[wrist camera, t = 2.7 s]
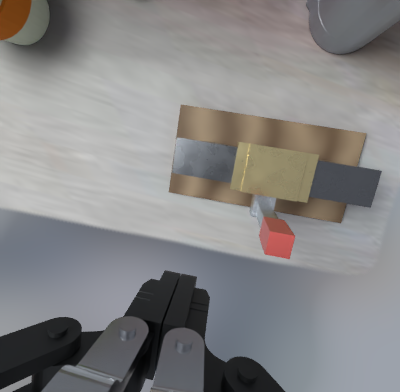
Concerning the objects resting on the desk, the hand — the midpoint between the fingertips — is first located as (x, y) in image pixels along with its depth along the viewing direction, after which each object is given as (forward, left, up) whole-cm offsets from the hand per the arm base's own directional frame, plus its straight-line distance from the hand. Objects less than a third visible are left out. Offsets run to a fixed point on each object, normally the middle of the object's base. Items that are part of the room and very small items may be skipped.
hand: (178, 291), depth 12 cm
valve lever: (+4, +5, -22) cm, 23 cm away
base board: (+1, +8, -30) cm, 31 cm away
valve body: (+1, +8, -29) cm, 30 cm away
